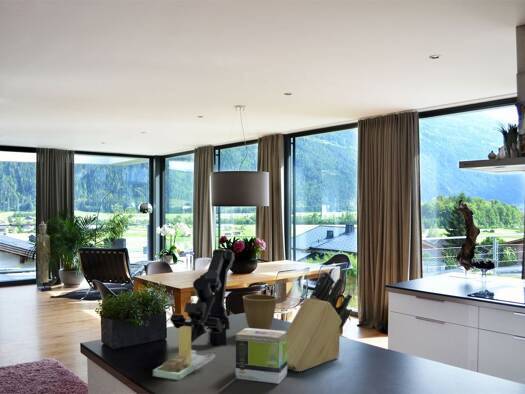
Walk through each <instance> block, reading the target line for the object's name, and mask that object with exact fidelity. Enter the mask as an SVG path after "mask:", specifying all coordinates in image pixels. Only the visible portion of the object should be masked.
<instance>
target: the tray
mask: <svg viewBox="0 0 525 394" xmlns="http://www.w3.org/2000/svg"><path fill="white" fill-rule="evenodd" d="M193 372H194V365H191V366H189V367H187V368H186V369H184V370H182V371H181V372H179V373H175V372H168V371H163V364H161V365H159V366H157V367H156V368H154V369H152V377H157V378H163V379H168V380H169V379H170V380H177V381H179V380H182V379H183V378H185V377H186V376H188V375H189V374H191V373H193Z"/></svg>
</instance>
